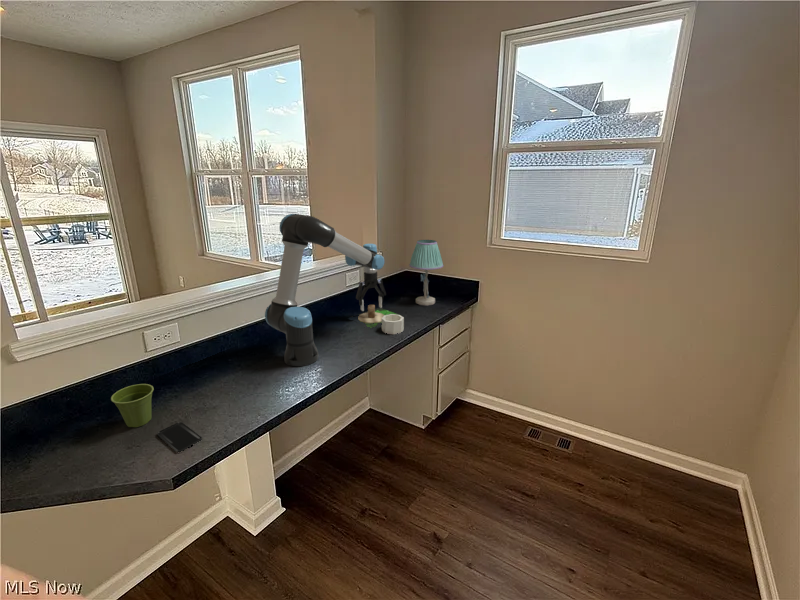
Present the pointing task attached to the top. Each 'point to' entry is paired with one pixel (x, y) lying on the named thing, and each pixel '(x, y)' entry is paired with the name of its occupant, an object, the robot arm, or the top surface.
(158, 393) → the top surface
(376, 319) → the lid
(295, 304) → the robot arm
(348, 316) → the top surface
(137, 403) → the plant pot
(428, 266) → the table lamp
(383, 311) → the mouse mat
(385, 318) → the cup
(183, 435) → the phone
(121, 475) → the top surface
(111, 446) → the top surface
